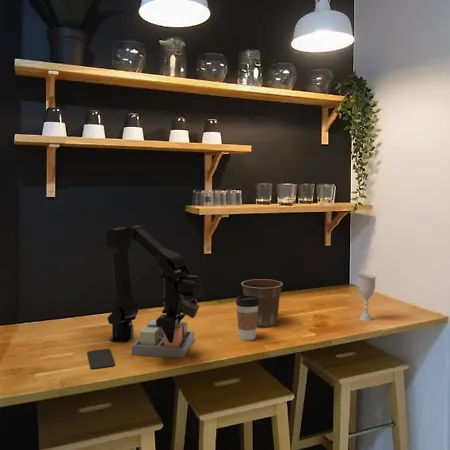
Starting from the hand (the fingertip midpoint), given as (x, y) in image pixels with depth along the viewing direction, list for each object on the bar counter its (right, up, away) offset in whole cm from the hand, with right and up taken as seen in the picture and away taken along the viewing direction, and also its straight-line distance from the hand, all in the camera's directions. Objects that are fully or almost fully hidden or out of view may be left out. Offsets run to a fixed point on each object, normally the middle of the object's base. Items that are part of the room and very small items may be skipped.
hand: (172, 339), depth 151 cm
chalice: (+75, -1, +37) cm, 83 cm away
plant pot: (+32, -1, +32) cm, 45 cm away
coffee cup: (+25, -3, +14) cm, 29 cm away
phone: (-22, -5, -6) cm, 23 cm away
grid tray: (-3, -4, +5) cm, 7 cm away
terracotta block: (0, -2, 0) cm, 2 cm away
